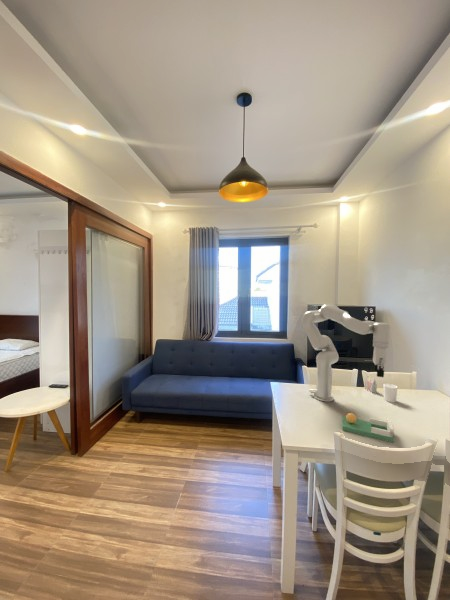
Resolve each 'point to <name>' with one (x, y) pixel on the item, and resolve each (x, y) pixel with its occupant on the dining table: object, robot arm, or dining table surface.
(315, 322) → the robot arm
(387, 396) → the white cup
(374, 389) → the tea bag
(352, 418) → the ball
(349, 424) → the green
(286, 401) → the dining table surface
